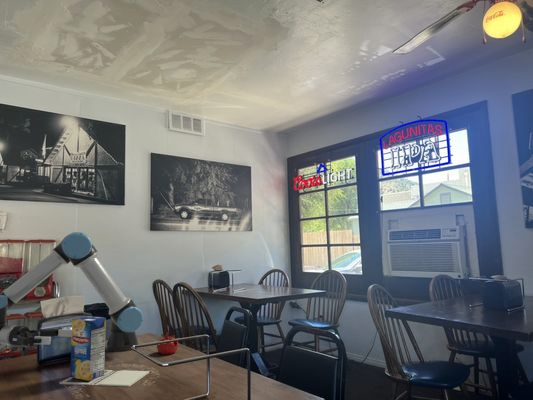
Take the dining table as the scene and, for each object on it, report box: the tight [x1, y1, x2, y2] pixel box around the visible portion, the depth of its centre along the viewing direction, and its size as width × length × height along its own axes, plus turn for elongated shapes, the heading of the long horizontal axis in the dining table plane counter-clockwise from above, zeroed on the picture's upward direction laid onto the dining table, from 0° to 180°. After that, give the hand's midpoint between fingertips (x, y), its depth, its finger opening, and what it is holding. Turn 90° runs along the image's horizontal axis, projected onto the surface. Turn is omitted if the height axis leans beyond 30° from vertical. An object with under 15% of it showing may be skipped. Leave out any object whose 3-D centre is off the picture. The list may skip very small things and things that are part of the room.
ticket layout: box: [59, 369, 150, 388], centre depth 152 cm, size 16×28×1 cm, turn 81°
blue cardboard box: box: [69, 315, 107, 382], centre depth 155 cm, size 7×11×22 cm, turn 63°
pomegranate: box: [156, 332, 179, 355], centre depth 188 cm, size 10×10×9 cm
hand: (62, 336), depth 157 cm, fingers open, 13 cm apart
